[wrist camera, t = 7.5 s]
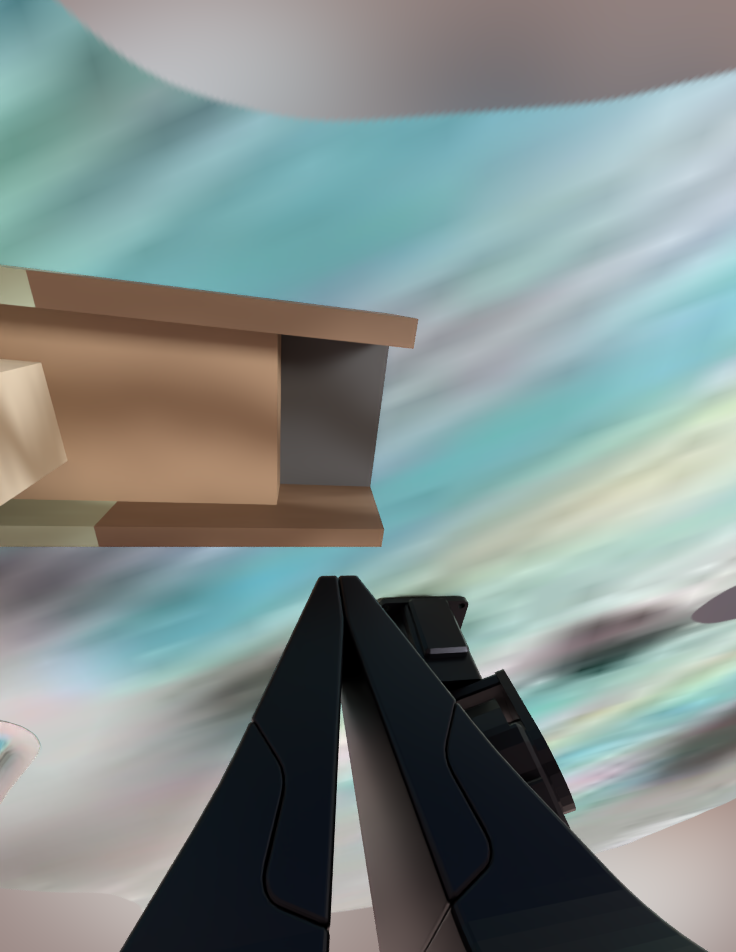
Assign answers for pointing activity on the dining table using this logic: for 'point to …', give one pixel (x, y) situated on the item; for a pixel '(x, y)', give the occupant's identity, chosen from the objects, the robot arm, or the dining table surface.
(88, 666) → the dining table surface
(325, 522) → the trap box
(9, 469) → the birch block
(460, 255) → the dining table surface
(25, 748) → the beer glass
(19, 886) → the dining table surface
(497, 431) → the dining table surface
